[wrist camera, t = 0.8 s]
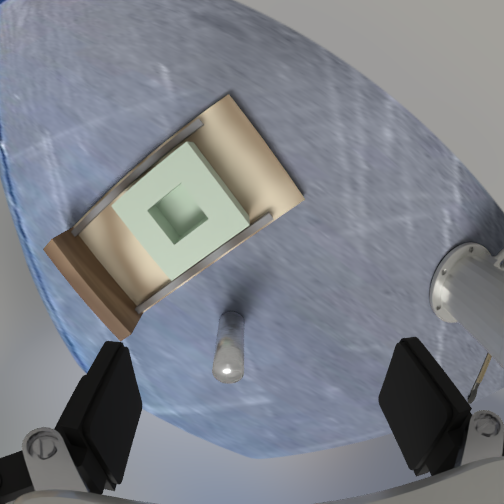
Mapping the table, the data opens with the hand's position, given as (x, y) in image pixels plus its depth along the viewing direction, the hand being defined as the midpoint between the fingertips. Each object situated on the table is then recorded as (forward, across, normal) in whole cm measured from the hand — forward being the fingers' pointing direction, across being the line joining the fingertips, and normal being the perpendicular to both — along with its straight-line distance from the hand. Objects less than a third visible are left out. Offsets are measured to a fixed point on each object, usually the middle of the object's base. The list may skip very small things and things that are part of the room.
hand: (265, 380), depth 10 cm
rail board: (+27, +8, 0) cm, 28 cm away
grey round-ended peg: (+27, +2, +14) cm, 30 cm away
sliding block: (+26, +7, -1) cm, 27 cm away
